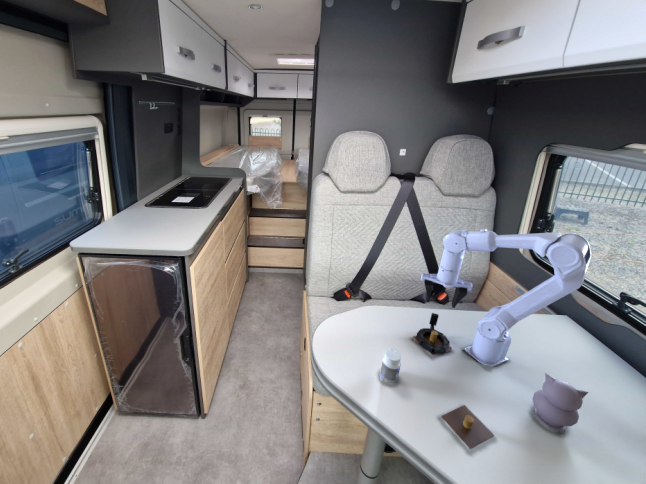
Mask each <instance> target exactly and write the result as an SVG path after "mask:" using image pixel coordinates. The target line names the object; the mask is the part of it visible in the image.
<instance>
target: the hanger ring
mask: <svg viewBox="0 0 646 484" xmlns="http://www.w3.org/2000/svg"><path fill="white" fill-rule="evenodd" d="M439 317H440V315H439V314H438V313H435V312H431V315H430V319H429V325H430V326H429V327H423V328H420V329H419V330H418V331H417V332H416V335H415V336H416V339H417V341H418V343H419V345H418V346H421V348H422V349H424V350H425V351H427V350H428V351H429V352H431V353H432V351H433V353H437V354H443V355H444V354H446V353H445V352H446V351H447V350H448V348H449V346H450V345H451V343H450V340H449V339H448V338H447V336H446V335H445V334H444V333H442V332H440V331H439V330H437V329H435V327H436V326H437V324H438V320H439ZM432 331H436V332H437V333H438V335H437V339H439V340H440V341H441V343H442V345H441V346H440V345H432V344H430V343H428V342H426V341H425V339H424V335H428V336H431V332H432ZM428 351H427V352H428ZM429 352H428V353H429ZM431 353H430V354H431Z"/></svg>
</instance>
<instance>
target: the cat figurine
mask: <svg viewBox="0 0 646 484" xmlns="http://www.w3.org/2000/svg"><path fill="white" fill-rule="evenodd" d="M544 377H545V378H544V382H543V384H542V386H541V389H539V390H537V391H535V392H534V393H533V395H532V403H533V406H534V409H533V411H534V414H535V416H536V417H537V418H538V420H539V421H540V422H541V423H542V424H543V425H546V426H547V427H549V428H550V429H553V430H555V431H559V434H560V435H563V434H564V433H566V430H567V428H568V427H572V426H574V425H576V424H577V423H578V422H579V418H580V415H579V411H578V410H580V409H581V408H582V406H583V403H584V400H583V399H584V398H585V397H586V396H587V395H588V394H589V391H587V390H583V389H579V388H576V387H575V386H573V385H572V384H571V383H570V382H568V381H564V380H562V379H558V378H554V377H552V376H551V375H549V374H548V373H547V372H545V373H544Z"/></svg>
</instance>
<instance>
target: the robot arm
mask: <svg viewBox="0 0 646 484" xmlns="http://www.w3.org/2000/svg"><path fill="white" fill-rule="evenodd" d="M442 245H443V247H444V248H443V251H442V256H441V259H440V263H439V267H438V271H437V273H424V272H421V277H420V281H421V282H424V288H425V290H426V291H425V292H426V299H425V300H426V302H427V303H430V300H431V295H432V292H433V289H434V284H439V285H442V286H443V287H444V288H447V289H452V288H455V290H454V294H453V297H452V300H451V308H452V309H455V308H456V306H457V305H458V304H459V302H460V301H462V299H463V298H465V297H467V296H468V292H472V290H473V283H472V282H470V281H466V280H463V279H460V278H459V275H460V272H461V268H462V263H463V261H464V257H465V253H466V251H467V252H494V251H495V250H496V249H498V248H505V249H520V250H521V249H523V250H533V251H534V253H536V254H538V255H539V256H540V257H541V258H544V257H545V256H547V259H548V261H549V263H550V265H551V266H552V268H553V271H554V275H553V276H551V277H549V278H548V279H546V280H544V281H543V282H541V283H540V284H538V285H536V286H534V287H533V288H531V289H530V290H528V291H527V292H525V293H523V294H522V295H520V296H518V297H517V298H515V299H514V300H512V301H510V302H508V303H504V304H503V305H500V306H493V307H491V308H490V309H489V310H488V312H487V313H486V314H485V315H484V316H483V317H482V318H481V319H480V320H479V321H478V323H477V330H476V333H475V335H474V339H473V342H472V344H471V345H469V346H467V347H464V349H463V351H465V352H466V353H467V354H468V355H470V356H471V357H472V358H473V359H474V360H475V361H477V362H478V363H479V364H482V365H484V366H485V365H486V366H488V367H491V368H492V367H493V368H494V367H496V366H499V365H500V364H503V363H505V362H507V361H509V358H508V357H507V355H508V354H507V353H508V352H509V349H510V346H511V343H512V337H511V334H510V333H509V332H508V331H509V330H510V329H511V328H513V327H514V326H515V325H516V324H518V323H519V322H521V321H522V320H524V319H527V318H528V317H530V316H531V315H534V314H535V313H537V312H539V311H540V310H543V309H545V307H548V306H549V305H551V304H553V303H555V302H557V301H558V300H560V299H562V298H564V297H566V296H568V295H570V294H572V293H574V292H575V291H577V290H579V289H580V288H581V287H582V285H583V284H584V281H585V277H586V273H587V270H588V268H589V267H588V266H589V264H590V260H591V258H592V251H591V247H590V243H589V241H588V240H587V239H586V238H585V237H584V236H583V235H581V234H578V233H575V232H573V233H571V232H569V233H568V232H567V233H564V234H563V233H562V232H539V233H518V234H517V233H515V234H497V232H494V231H493V230H488V228H481V229H480V230H468V229H463V230H462V229H456V230H454V231H452V232H450V233H449V234H446V235H445V236H444V237H443V240H442Z"/></svg>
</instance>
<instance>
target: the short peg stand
mask: <svg viewBox="0 0 646 484" xmlns="http://www.w3.org/2000/svg"><path fill="white" fill-rule="evenodd" d="M440 417H441V418H442V419H443V420H444V422H445V423H446V424H447V425H448V426H449V427H450V428H451V430H452V431H453V432H454V433H455V434H456V435H457V436H458V437H459V438H460V440H462V442H463V443H464V444H465V445H466V446H467V448H468V449H469V450H472V449H474V448H475V447H477V446H479V445H481V444H483V443H484V442H486V441H488V440H490V439H491V438H493V437H495V436H496V435H495V434H494V433H493V432H492V431H491V430H490V429H489V428H488V427H487V426H486V425H485V424H484V423H483V422H482V420H480V419H479V418H478V417H477V416H476V415H475V414H474V413H473V412H472V411H471V410H470V409H469V408H468V407H467V406H466V405H465V404H464V405H461V406H459V407H457V408H455V409H453V410H451V411H449V412H447V413H445V414H442V415H441V416H440Z"/></svg>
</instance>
